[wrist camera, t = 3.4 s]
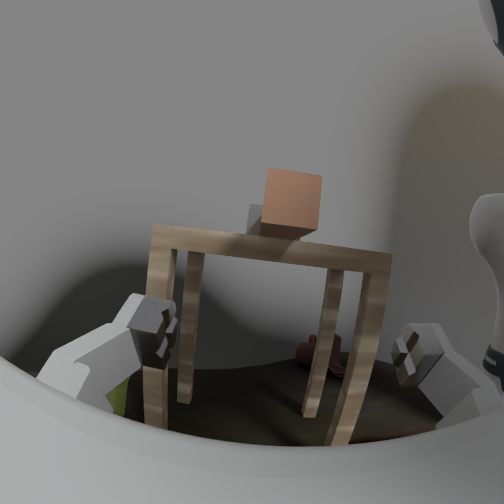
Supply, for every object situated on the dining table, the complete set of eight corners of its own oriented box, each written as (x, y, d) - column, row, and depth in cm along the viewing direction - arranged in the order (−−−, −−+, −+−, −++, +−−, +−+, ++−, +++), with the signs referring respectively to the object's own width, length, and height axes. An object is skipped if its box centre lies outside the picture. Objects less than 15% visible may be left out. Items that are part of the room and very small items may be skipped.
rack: (335, 473, 22) (392, 254, 23) (147, 453, 23) (153, 223, 23) (313, 411, 38) (342, 255, 39) (180, 396, 39) (193, 236, 39)
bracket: (364, 376, 47) (369, 330, 52) (292, 372, 57) (298, 331, 62) (369, 378, 52) (374, 335, 56) (302, 374, 61) (308, 336, 66)
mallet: (343, 233, 14) (348, 163, 14) (232, 218, 14) (242, 148, 14) (292, 248, 36) (295, 218, 36) (247, 242, 36) (250, 212, 36)
